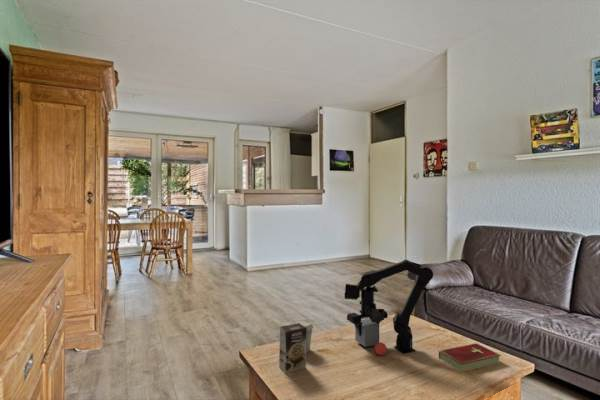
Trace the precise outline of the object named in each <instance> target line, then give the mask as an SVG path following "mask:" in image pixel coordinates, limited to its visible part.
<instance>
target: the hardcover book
mask: <svg viewBox="0 0 600 400" xmlns="http://www.w3.org/2000/svg"><path fill="white" fill-rule="evenodd" d="M501 355H502V354H500V353H498V352H496V351H493V350H491V349H489V348H487V347H485V346H483V345H481V344H479V343H471V344H466V345H465V344H464V345H461V346H456V347H451V348H446V349H441V350H438V359H440V360H442V361H443V362H445V363H447V364H448V365H449V366H450V365H451V366H452V367H453V368H455V369H456V370H458V371H460V372H466V371H469V370H474V369H478V368H483V367H486V366H492V365H495V364H500V357H501Z"/></svg>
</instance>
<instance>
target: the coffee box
mask: <svg viewBox="0 0 600 400" xmlns="http://www.w3.org/2000/svg"><path fill="white" fill-rule="evenodd" d="M306 333H307V328H306V327H305V326H303V325H301V324H300V323H297V324H295V323H293V324H287V325H283V326H279V357H278V358H279V360H278V361H279V362H278V367H279V368H280V369H281V370H282V372H284V374H289V373H293V372H298V371H300V370H304V369H307V353H306Z"/></svg>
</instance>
